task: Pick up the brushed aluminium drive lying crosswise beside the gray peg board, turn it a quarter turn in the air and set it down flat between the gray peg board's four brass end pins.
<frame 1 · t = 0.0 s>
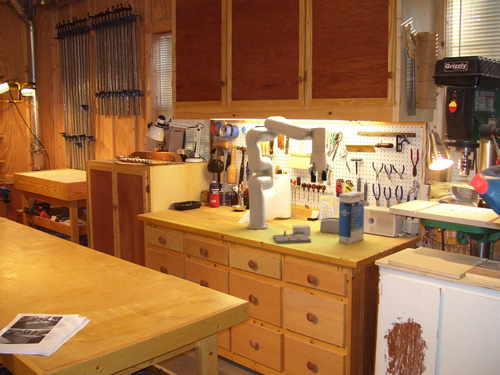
hand: (318, 181, 274), 31 cm above the worktop, tool pointing down, fingers open, 9 cm apart
drive: (301, 234, 288), on the worktop
string lights box: (351, 241, 272), on the worktop
grey rounded block: (334, 232, 294), on the worktop
gray peg board: (291, 239, 276), on the worktop
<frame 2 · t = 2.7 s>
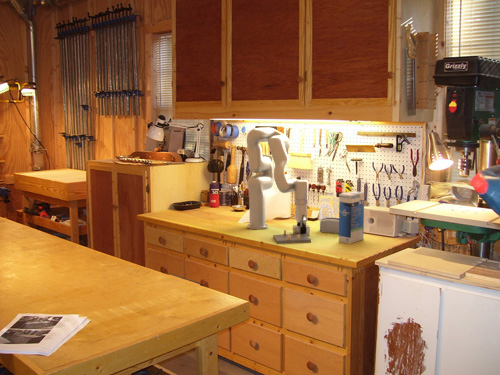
hand: (301, 231, 288), 1 cm above the worktop, tool pointing down, fingers open, 9 cm apart
nothing on the worktop moved.
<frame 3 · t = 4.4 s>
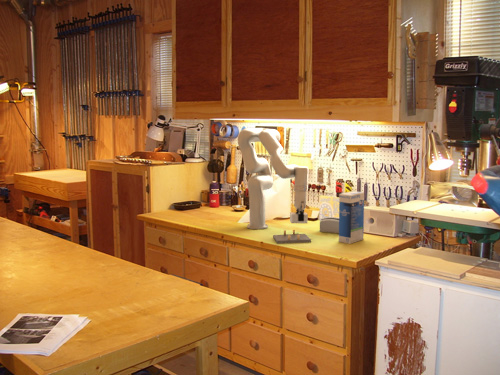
hand: (299, 219, 288), 8 cm above the worktop, tool pointing down, fingers closed on drive, 5 cm apart
drive: (298, 222, 288), point 7 cm above the worktop, touching gripper
everything else where it was.
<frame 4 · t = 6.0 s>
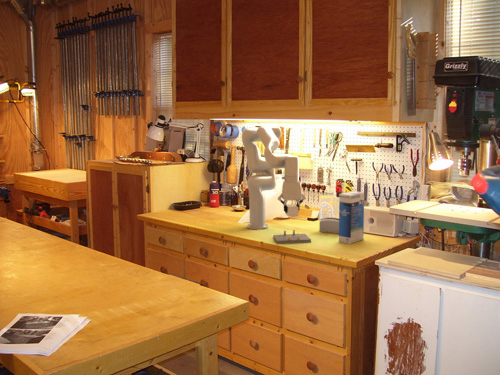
hand: (291, 211, 274), 15 cm above the worktop, tool pointing down, fingers closed on drive, 5 cm apart
drive: (291, 214, 273), point 14 cm above the worktop, touching gripper
everything else where it was.
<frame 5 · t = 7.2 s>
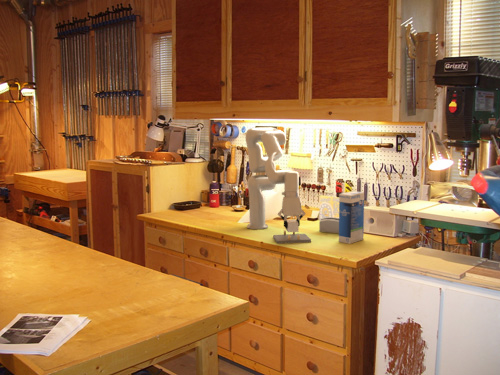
hand: (291, 227, 275), 7 cm above the worktop, tool pointing down, fingers closed on drive, 5 cm apart
drive: (291, 230, 274), point 5 cm above the worktop, touching gripper
everything else where it was.
when the fingers open (3 cm above the worktop, at t = 8.5 s): drive stays where it is, resting on gray peg board.
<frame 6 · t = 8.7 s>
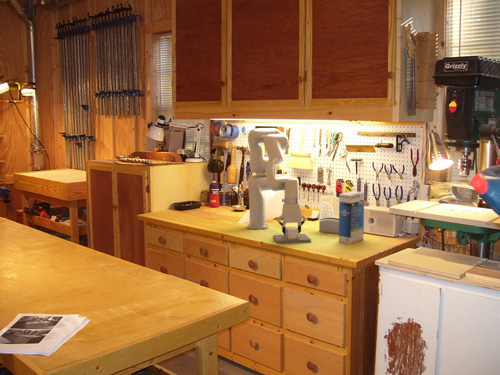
hand: (291, 233, 275), 4 cm above the worktop, tool pointing down, fingers open, 7 cm apart
drive: (291, 237, 275), point 1 cm above the worktop, touching gray peg board
everything else where it was.
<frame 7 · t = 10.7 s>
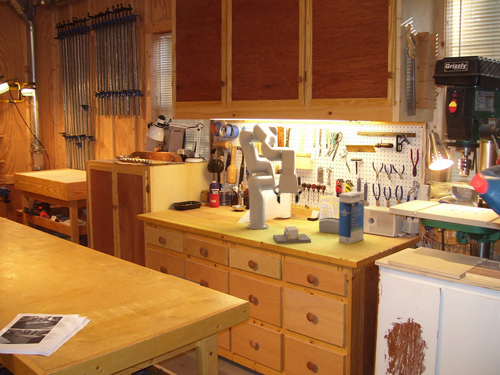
hand: (287, 203, 276), 20 cm above the worktop, tool pointing down, fingers open, 9 cm apart
nothing on the worktop moved.
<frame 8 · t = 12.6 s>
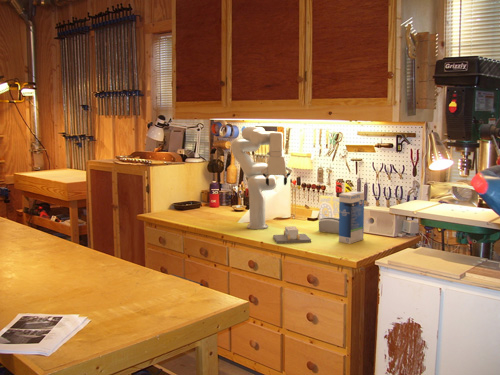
hand: (276, 185, 284), 28 cm above the worktop, tool pointing down, fingers open, 9 cm apart
at the end: drive 0.5 cm off-centre on the gray peg board, point 1.5 cm above the gray peg board's base; drive tilted 0°; the gripper is holding nothing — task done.
